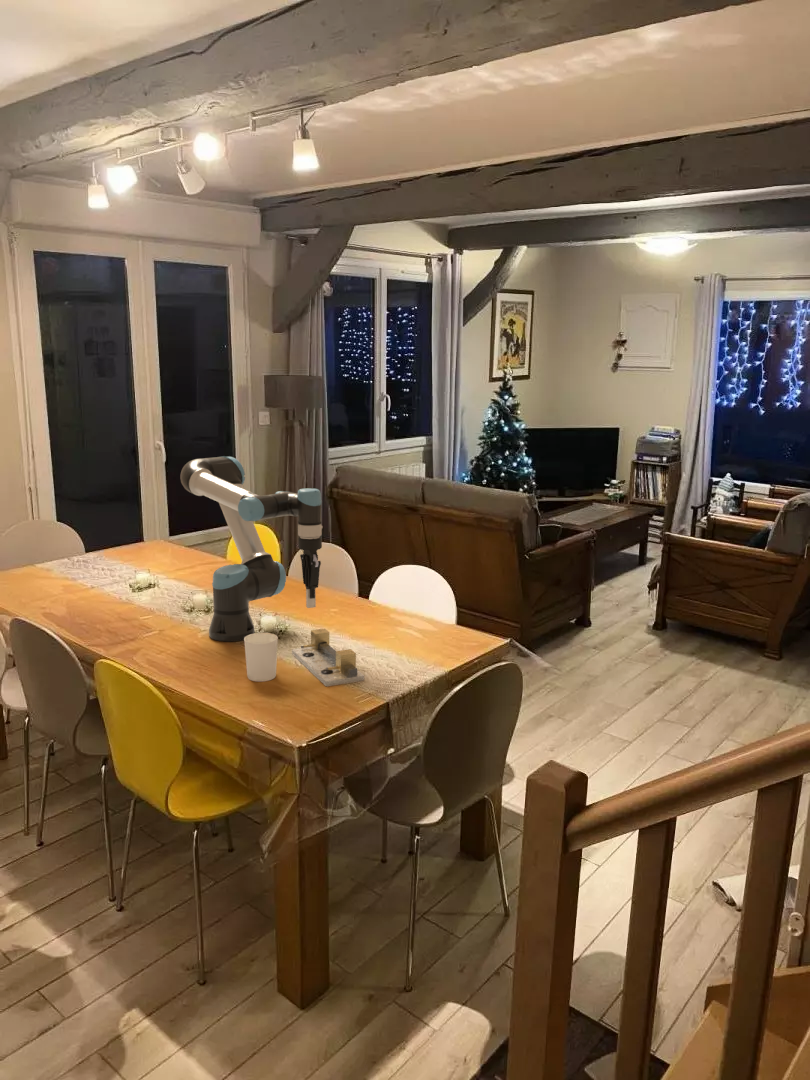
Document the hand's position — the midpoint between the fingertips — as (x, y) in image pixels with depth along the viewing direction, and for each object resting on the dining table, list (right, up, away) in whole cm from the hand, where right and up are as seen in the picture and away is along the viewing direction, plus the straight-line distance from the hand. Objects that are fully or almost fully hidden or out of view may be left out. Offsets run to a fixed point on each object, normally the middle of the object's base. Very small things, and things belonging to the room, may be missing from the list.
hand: (311, 607), depth 270 cm
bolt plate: (+6, -17, -18) cm, 26 cm away
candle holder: (-11, -19, -27) cm, 35 cm away
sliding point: (+2, -12, -6) cm, 14 cm away
